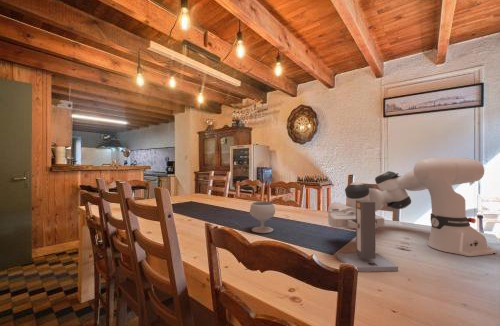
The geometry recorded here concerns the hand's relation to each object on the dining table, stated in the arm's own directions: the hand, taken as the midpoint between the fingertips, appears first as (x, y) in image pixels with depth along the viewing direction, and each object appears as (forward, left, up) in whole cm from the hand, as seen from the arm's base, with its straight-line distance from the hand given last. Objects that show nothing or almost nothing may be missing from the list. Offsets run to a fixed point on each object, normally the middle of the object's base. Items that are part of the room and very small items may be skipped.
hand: (366, 226), depth 82 cm
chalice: (+34, -45, -14) cm, 58 cm away
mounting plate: (0, -1, -14) cm, 14 cm away
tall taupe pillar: (0, -1, -11) cm, 11 cm away
